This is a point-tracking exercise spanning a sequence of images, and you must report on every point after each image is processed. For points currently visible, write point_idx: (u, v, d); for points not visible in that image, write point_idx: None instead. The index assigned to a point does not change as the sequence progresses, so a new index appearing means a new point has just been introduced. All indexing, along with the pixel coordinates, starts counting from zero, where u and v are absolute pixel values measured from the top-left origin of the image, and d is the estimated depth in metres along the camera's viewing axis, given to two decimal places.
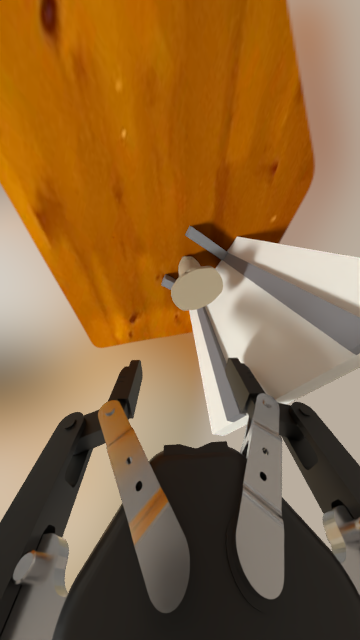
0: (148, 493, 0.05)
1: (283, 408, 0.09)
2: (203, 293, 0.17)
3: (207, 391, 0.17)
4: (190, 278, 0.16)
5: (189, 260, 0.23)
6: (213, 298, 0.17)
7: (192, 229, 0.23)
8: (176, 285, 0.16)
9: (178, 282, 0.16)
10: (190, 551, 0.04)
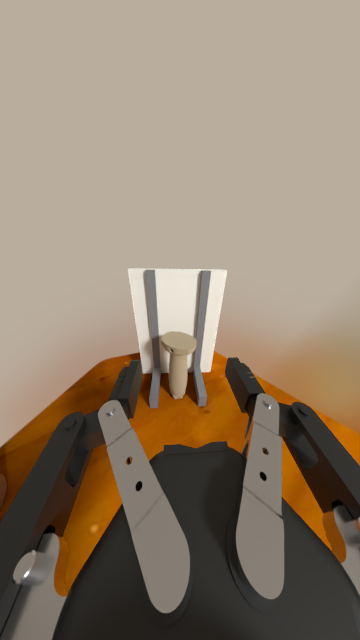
0: (148, 493, 0.05)
1: (283, 408, 0.09)
2: (178, 336, 0.25)
3: (220, 292, 0.27)
4: (173, 345, 0.23)
5: (170, 377, 0.27)
6: (177, 332, 0.27)
7: (150, 396, 0.27)
8: (182, 348, 0.22)
9: (180, 348, 0.22)
10: (190, 551, 0.04)
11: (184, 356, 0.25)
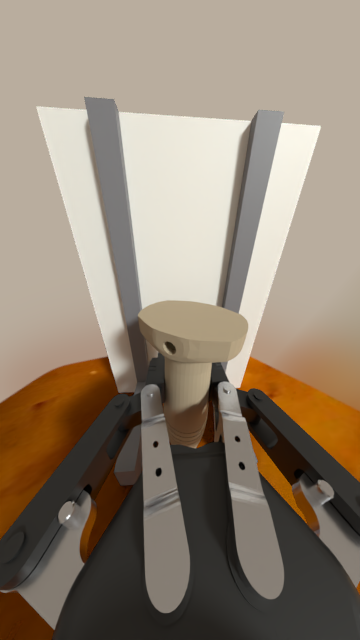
0: (164, 484, 0.05)
1: (242, 394, 0.09)
2: (187, 309, 0.09)
3: (290, 202, 0.11)
4: (175, 328, 0.07)
5: (167, 415, 0.11)
6: (183, 301, 0.10)
7: (119, 464, 0.11)
8: (210, 339, 0.06)
9: (200, 339, 0.06)
10: (191, 570, 0.04)
11: (207, 365, 0.08)
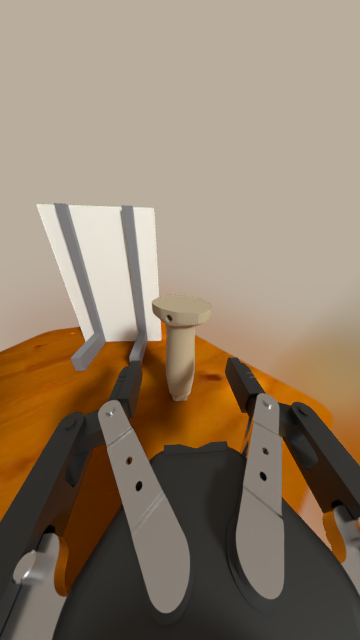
0: (148, 493, 0.05)
1: (283, 408, 0.09)
2: (180, 300, 0.15)
3: (151, 236, 0.24)
4: (172, 308, 0.13)
5: (168, 367, 0.17)
6: (178, 295, 0.17)
7: (73, 356, 0.24)
8: (189, 312, 0.12)
9: (184, 312, 0.12)
10: (190, 551, 0.04)
11: (190, 331, 0.15)
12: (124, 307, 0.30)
